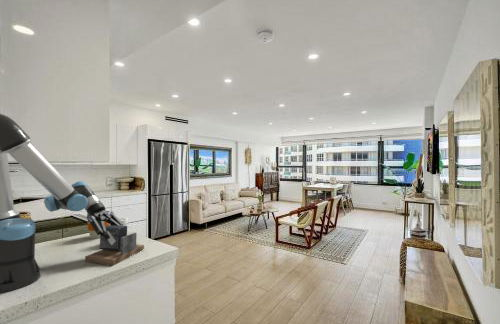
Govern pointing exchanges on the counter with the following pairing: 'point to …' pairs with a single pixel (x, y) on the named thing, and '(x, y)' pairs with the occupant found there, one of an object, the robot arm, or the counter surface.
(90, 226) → the reusable coffee cup
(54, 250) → the counter surface
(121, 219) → the foam cup
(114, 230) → the small box
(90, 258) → the wooden base with plate
